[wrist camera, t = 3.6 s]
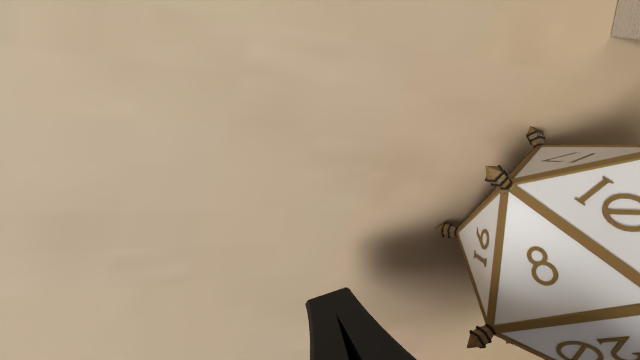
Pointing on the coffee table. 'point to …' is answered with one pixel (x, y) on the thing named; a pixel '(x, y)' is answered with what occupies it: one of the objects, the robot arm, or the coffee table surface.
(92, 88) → the coffee table surface
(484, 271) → the game die
